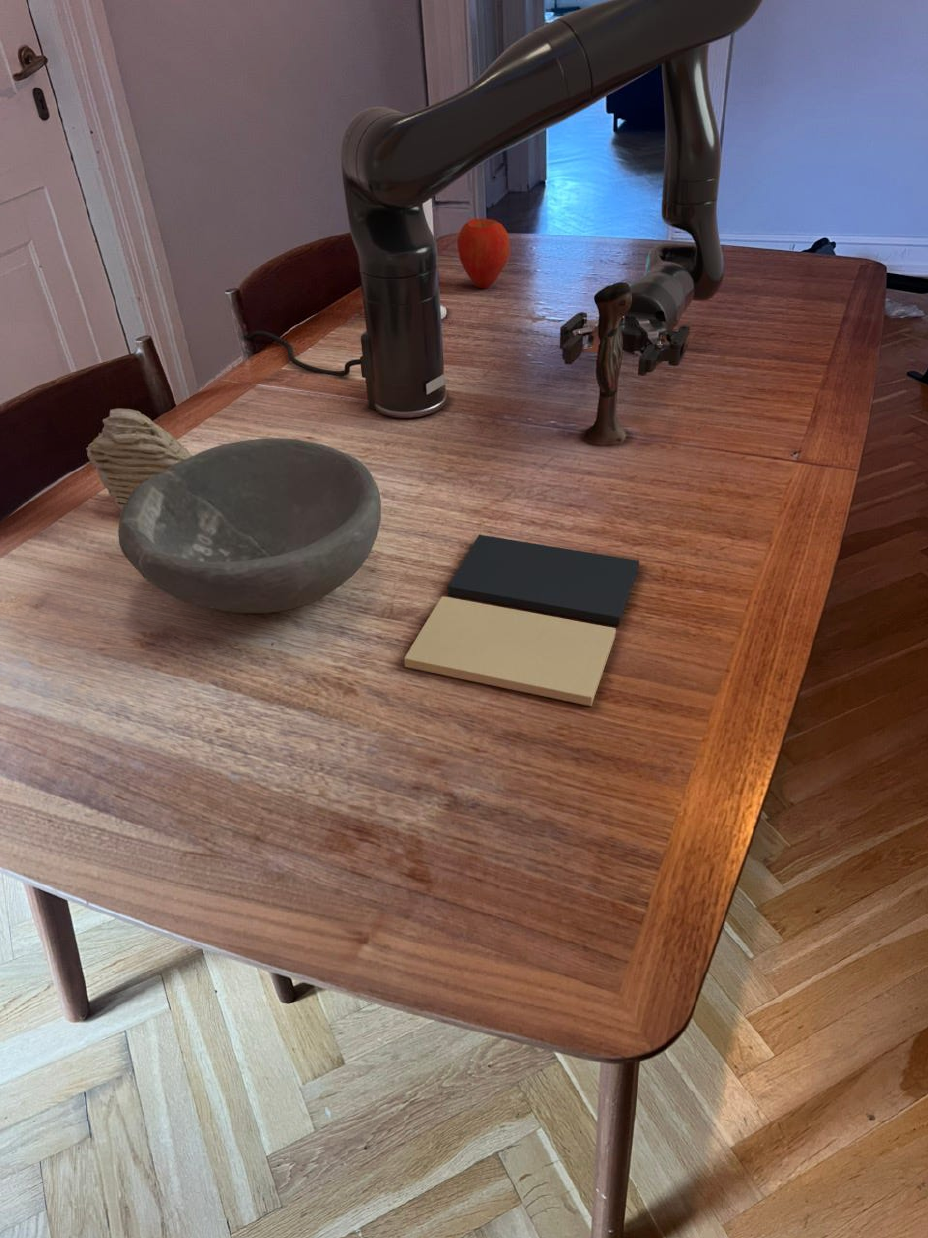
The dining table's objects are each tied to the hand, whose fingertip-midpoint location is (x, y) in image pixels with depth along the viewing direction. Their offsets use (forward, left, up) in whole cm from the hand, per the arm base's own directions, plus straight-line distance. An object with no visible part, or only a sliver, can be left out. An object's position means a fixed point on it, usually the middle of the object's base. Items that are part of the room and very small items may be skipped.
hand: (604, 361), depth 97 cm
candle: (-36, +34, -10) cm, 51 cm away
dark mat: (+1, -28, -10) cm, 30 cm away
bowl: (-24, -36, -10) cm, 44 cm away
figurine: (0, +1, -10) cm, 10 cm away
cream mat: (+1, -39, -10) cm, 40 cm away
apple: (-31, +49, -10) cm, 59 cm away
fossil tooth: (-42, -27, -10) cm, 51 cm away
